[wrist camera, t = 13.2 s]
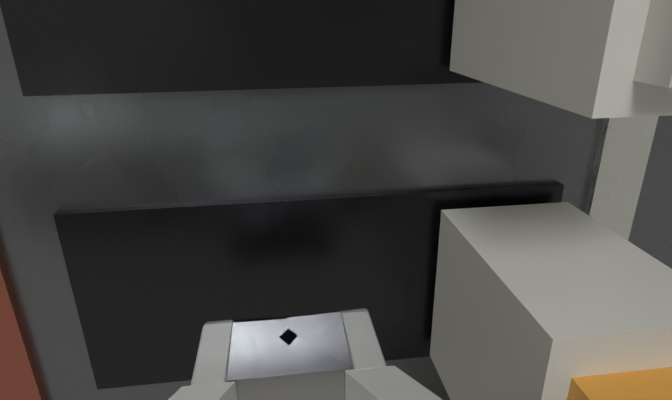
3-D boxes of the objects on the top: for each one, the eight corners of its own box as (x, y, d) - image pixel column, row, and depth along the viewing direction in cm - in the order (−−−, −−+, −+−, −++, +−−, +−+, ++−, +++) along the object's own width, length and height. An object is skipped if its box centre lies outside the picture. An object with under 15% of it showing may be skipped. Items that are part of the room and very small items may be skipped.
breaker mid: (441, 209, 11) (580, 370, 6) (567, 201, 11) (793, 348, 6) (429, 355, 12) (532, 576, 7) (541, 344, 12) (707, 548, 8)
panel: (-225, -232, 8) (-344, -289, 6) (888, -183, 11) (996, -217, 9) (51, 546, 16) (27, 606, 14) (665, 463, 18) (703, 505, 17)
